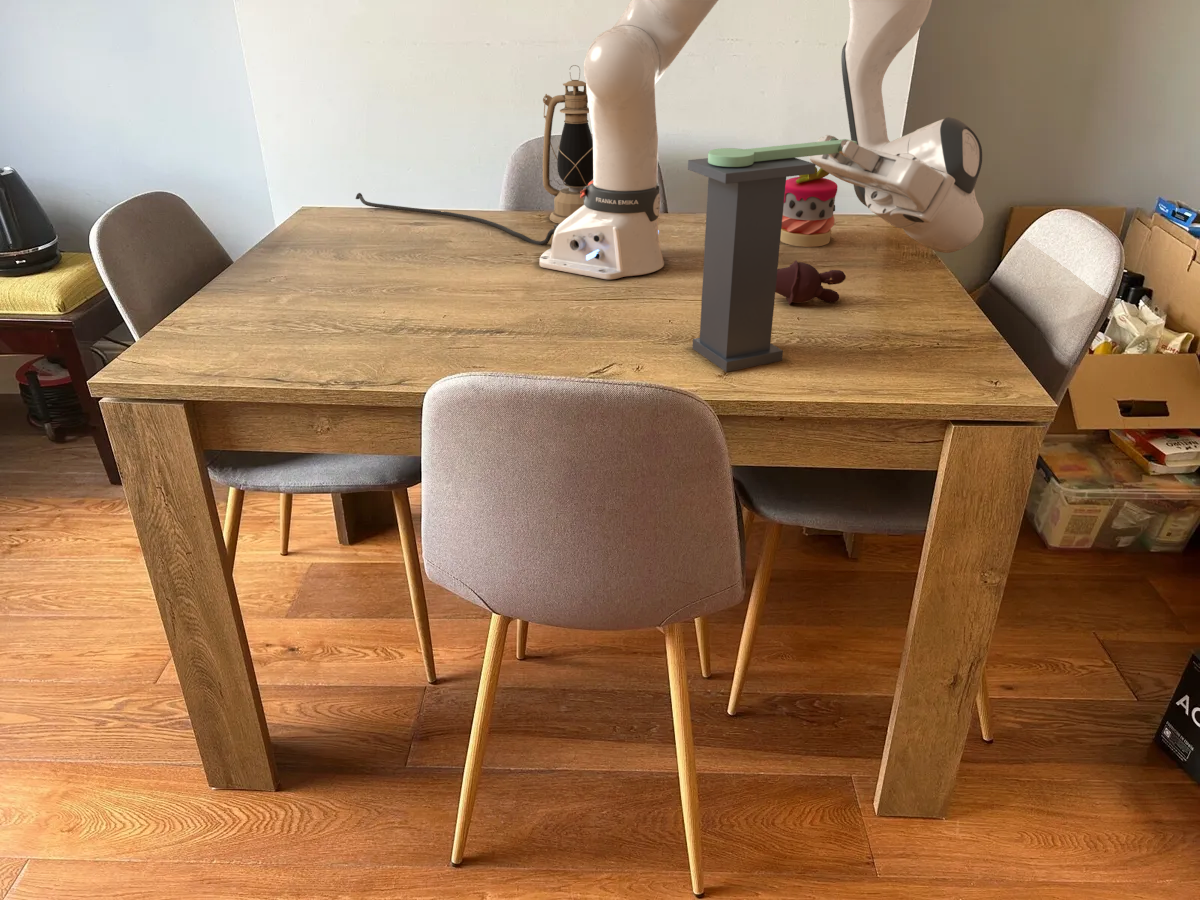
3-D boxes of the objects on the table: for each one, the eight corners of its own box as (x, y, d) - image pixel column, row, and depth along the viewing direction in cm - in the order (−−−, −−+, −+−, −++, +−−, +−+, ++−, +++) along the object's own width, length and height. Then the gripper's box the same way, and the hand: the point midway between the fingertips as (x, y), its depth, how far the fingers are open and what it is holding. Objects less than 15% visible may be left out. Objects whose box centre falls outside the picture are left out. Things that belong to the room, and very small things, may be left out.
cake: (765, 238, 174) (772, 159, 166) (802, 229, 179) (810, 152, 172) (805, 250, 166) (815, 168, 159) (842, 240, 172) (853, 161, 164)
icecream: (751, 270, 135) (850, 282, 134) (751, 245, 140) (846, 256, 139) (744, 308, 140) (839, 319, 139) (744, 282, 145) (835, 293, 144)
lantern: (614, 211, 192) (614, 62, 178) (609, 225, 182) (609, 68, 168) (548, 210, 194) (543, 61, 179) (539, 224, 183) (533, 68, 169)
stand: (757, 336, 129) (773, 151, 116) (794, 358, 121) (815, 163, 109) (679, 351, 124) (687, 160, 111) (713, 374, 117) (726, 173, 104)
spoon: (836, 146, 118) (838, 136, 117) (864, 153, 113) (865, 143, 113) (699, 160, 110) (699, 150, 109) (723, 168, 106) (723, 158, 105)
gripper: (861, 153, 129) (798, 109, 122) (965, 181, 113) (901, 132, 105) (839, 193, 131) (776, 152, 123) (938, 226, 115) (873, 181, 107)
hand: (834, 143), depth 114 cm, fingers closed on spoon, 2 cm apart
